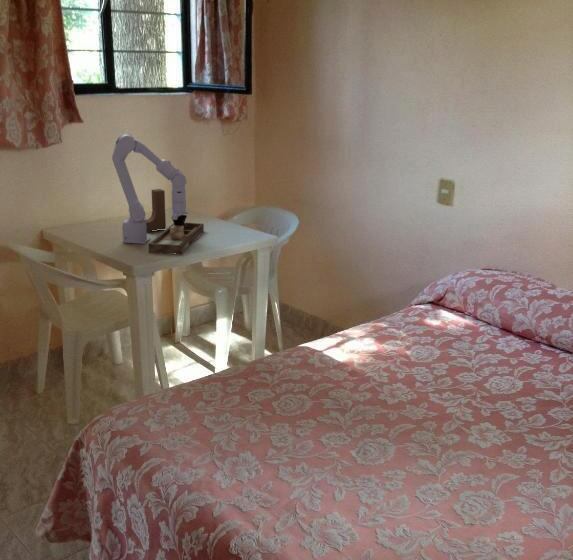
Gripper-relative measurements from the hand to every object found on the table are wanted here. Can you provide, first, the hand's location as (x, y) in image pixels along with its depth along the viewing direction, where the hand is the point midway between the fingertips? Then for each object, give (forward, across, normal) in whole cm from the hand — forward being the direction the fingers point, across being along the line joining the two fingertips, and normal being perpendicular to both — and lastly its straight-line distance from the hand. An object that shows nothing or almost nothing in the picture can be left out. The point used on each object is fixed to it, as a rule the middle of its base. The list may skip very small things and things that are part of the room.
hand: (179, 232), depth 280 cm
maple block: (+1, -4, 0) cm, 4 cm away
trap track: (+3, -3, 0) cm, 4 cm away
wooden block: (+3, +12, +15) cm, 20 cm away
